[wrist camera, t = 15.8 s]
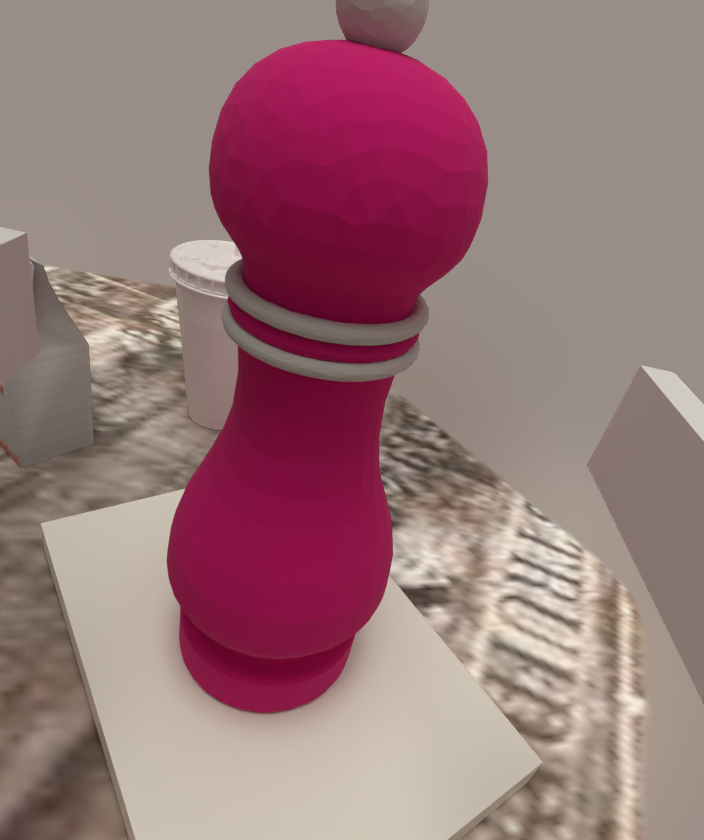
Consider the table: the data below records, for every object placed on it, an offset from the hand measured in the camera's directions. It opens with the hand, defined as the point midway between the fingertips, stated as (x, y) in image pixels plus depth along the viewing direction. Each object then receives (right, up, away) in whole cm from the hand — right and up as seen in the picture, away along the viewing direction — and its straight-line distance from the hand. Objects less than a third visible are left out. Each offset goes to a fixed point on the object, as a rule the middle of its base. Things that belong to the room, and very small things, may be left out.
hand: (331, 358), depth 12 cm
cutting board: (-3, -10, +9) cm, 14 cm away
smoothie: (-8, -1, +23) cm, 24 cm away
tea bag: (-17, -2, +18) cm, 25 cm away
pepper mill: (-3, -9, +9) cm, 13 cm away
